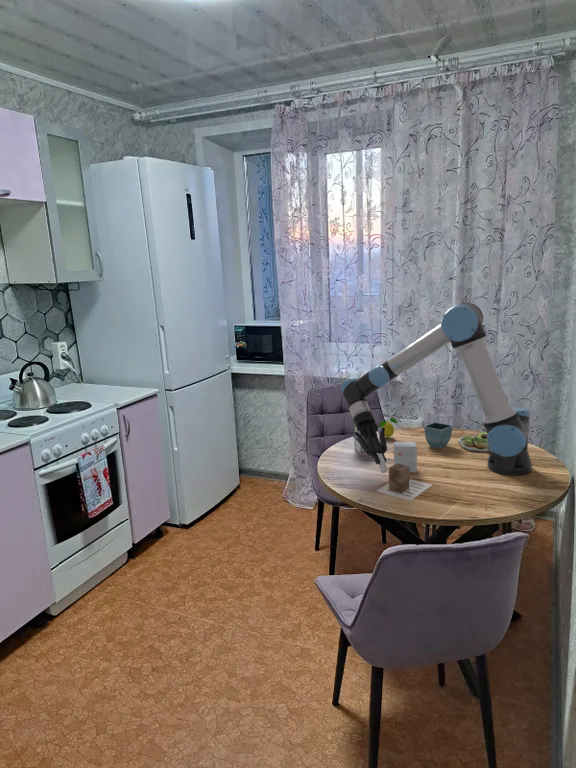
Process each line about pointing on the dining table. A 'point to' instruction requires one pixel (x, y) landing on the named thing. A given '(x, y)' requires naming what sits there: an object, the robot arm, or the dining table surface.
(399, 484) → the walnut block
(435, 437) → the flower pot
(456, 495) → the dining table surface
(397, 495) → the letter
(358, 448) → the syrup box
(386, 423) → the lemon
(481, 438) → the avocado toast plate
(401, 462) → the small box
